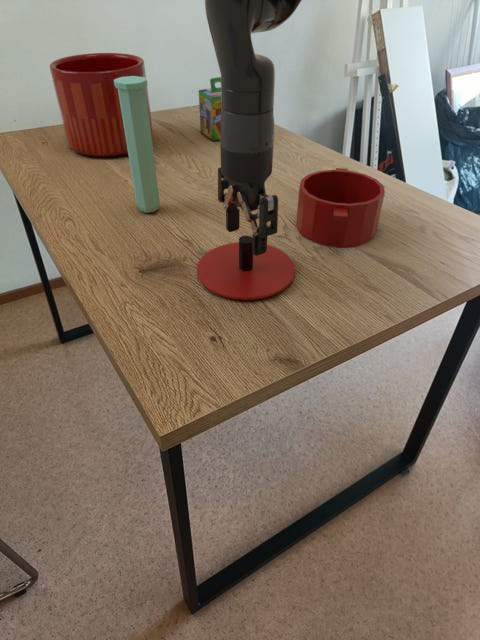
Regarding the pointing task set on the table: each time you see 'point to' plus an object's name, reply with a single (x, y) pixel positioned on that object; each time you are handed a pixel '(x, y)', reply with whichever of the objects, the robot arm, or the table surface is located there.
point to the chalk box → (210, 110)
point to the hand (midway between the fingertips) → (245, 241)
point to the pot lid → (245, 271)
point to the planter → (94, 100)
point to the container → (139, 140)
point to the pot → (339, 207)
